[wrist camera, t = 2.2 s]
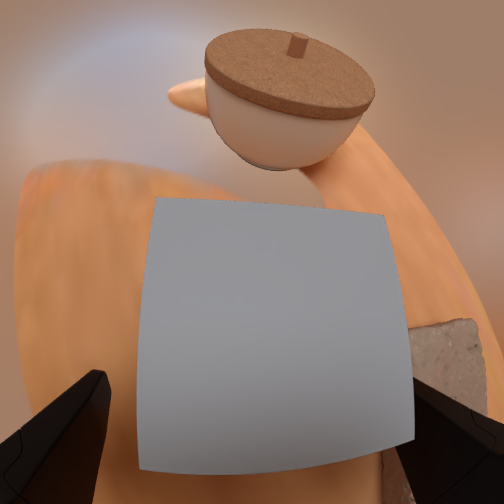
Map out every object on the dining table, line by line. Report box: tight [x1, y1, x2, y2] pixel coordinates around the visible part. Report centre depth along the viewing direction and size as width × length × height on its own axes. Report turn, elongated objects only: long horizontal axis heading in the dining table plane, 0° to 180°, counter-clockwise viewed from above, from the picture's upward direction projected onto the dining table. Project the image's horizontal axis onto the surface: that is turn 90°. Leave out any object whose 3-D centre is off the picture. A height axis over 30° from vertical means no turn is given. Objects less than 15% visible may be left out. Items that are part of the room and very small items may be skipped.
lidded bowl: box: [205, 29, 375, 171], centre depth 20 cm, size 13×13×11 cm
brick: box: [382, 318, 487, 504], centre depth 14 cm, size 17×8×5 cm, turn 5°
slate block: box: [137, 197, 415, 475], centre depth 10 cm, size 5×5×13 cm
